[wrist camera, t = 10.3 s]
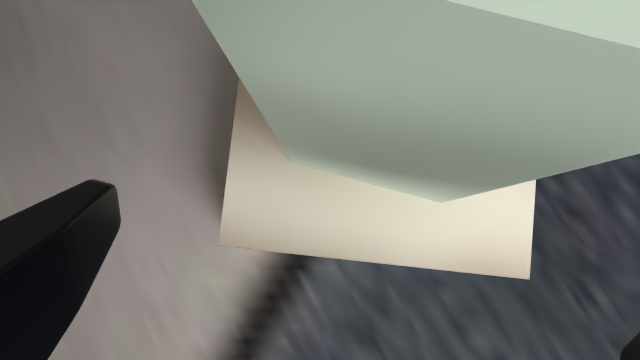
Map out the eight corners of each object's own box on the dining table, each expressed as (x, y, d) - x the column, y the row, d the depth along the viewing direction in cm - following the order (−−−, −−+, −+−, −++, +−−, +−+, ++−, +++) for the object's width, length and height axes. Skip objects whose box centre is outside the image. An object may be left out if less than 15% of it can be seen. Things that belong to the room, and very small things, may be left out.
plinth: (498, 271, 19) (529, 279, 16) (236, 243, 19) (218, 245, 16) (516, 16, 20) (548, -21, 17) (266, -6, 20) (254, -47, 17)
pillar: (441, 203, 16) (850, 101, 3) (292, 163, 17) (145, -75, 4) (477, 57, 17) (965, -525, 4) (332, 21, 17) (327, -640, 4)
